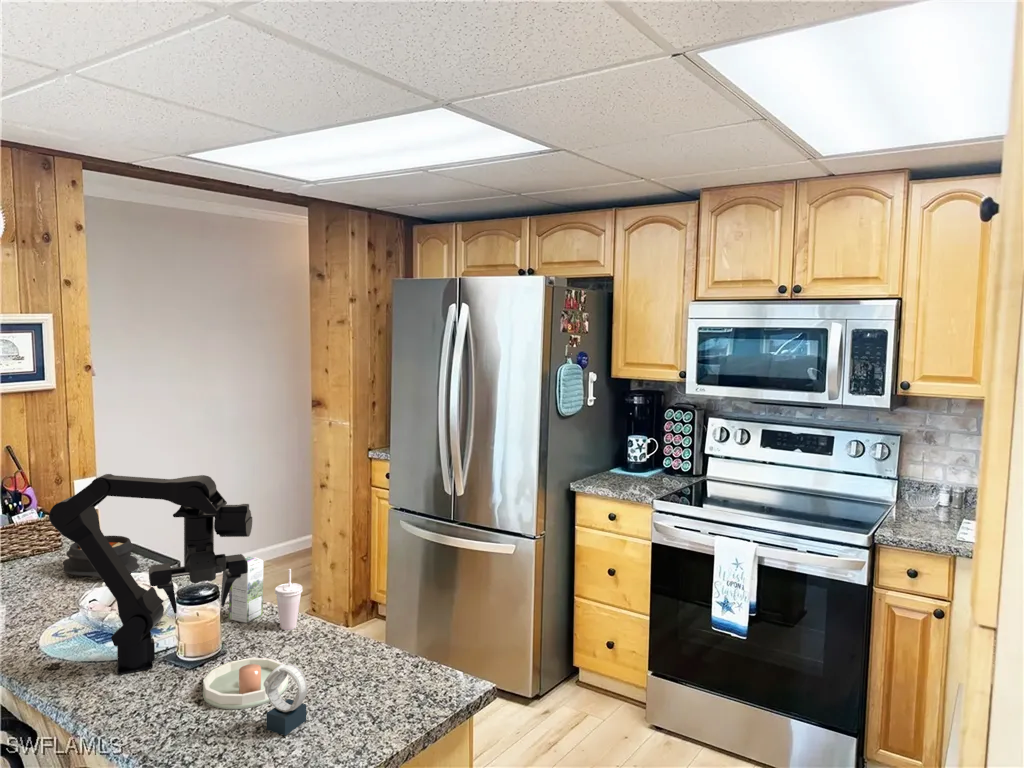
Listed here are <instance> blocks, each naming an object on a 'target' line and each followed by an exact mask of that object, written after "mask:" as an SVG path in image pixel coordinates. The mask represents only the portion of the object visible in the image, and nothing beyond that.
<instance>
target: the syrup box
mask: <svg viewBox="0 0 1024 768" xmlns="http://www.w3.org/2000/svg"><path fill="white" fill-rule="evenodd" d="M244 557H245V559H246V560H247V563H248V573H246V574H241V577H240V578H237V579H236V580H235V581H234V582H233V584H232V586H231V588H230V590H229V593H228V596H229V597H228V619H229V620H231V621H236V622H240V623H245V624H248V623H250V622H252V621H253V620H255V619H257V618H259V617H261V616H263V613H264V612H263V610H264V603H263V602H264V569H265V567H264V560H263V559H261V558H259V557H255V556H254V557H253V556H244Z"/></svg>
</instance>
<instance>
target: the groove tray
mask: <svg viewBox="0 0 1024 768" xmlns="http://www.w3.org/2000/svg"><path fill="white" fill-rule="evenodd" d="M249 664H257V665H260V666H261V690H259V691H254V692H250V693H245V694H239V669H240V668H241V667H243V666H245V665H249ZM282 664H285V663H283V662H281V661H278V660H275V659H273V658H270V657H269V658H265V657H264V658H260V657H248V658H244V659H243V658H242V659H239V660H233V661H232V660H231V661H229V662H228V661H227V663H224V664H222V665H220V666H218V667H216V668H214V669H211V670H210V671H209V673H208V674H207V675H206V676H205V677H204V678H203V679H202V680H203V681H202V682H203V683H202V685H203V686H202V698H204V699H203V700H204V702H205V703H206V704H207V705H209V704H210V705H209V706H212V707H214V708H218V709H223V710H244V709H250V707H251V708H255V707H258V706H262V705H266V704H267V703H269V702H270V700H269V698H268V696H267V694H266V692H265V687H264V682H265V680H266V678H267V677H268V675H269V674H270V673H271V672H272V671H273V670H274V669H275V668H277V667H278V666H280V665H282ZM288 687H289V674H288V675H287V677H286V678H285V680H284V681H283V682H282V683H281V684H280V686H279V687H277V689H278V692H279V694H280V696H283V694H284V693H285V692H286V691H287V689H288ZM272 697H273V696H272ZM270 703H271V702H270Z"/></svg>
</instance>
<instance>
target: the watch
mask: <svg viewBox="0 0 1024 768" xmlns="http://www.w3.org/2000/svg"><path fill="white" fill-rule="evenodd" d="M287 675H288V676H289V675H290V676H291V677H292V679H293V680H294V682H295V683H296V686H297V692H296V693H297V694H295V696H294V700H293V699H290V698H287V699H286V700H284V699H283V697H282V695H280V694H279V692H278V689H277V687H279V686H280V684H281V683H282V682H283V681H284V680H285V678H286V677H287ZM307 683H308V682H307V679H306V676H305V674H304V672H303V670H301V668H299V667H298V666H296V665H295V664H292V663H287V664H285V663H284V664H282V665H280V666H278V667H277V668H275V669H274V670H273V671H272V672H271V673H270V674H269V675H268V677H267V678H266V680H265V682H264V687H265V692H266V694H267V696H268V698H269V700H270V704H271V705H272V706H273V708H272V709H271V710H269V711H267V712H266V721H265V722H266V730H267V731H269V732H272V733H275V734H279V735H280V736H284V737H286V736H287V735H288V734H290V733H292V732H293V731H294V730H296V729H297V728H298V727H300V726H301V725H302V724H304V723H305V722H307V704H306V703H303V702H304V701H305V699H306V697H307V693H308V684H307ZM272 696H273V697H272Z"/></svg>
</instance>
